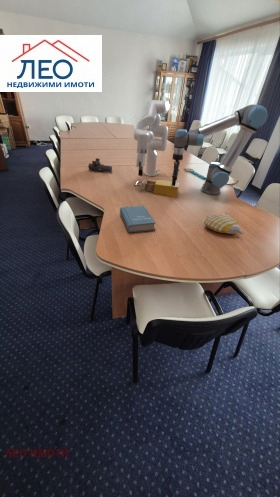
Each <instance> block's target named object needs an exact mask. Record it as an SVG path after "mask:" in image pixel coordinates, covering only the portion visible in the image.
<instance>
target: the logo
mask: <svg viewBox="0 0 280 497" xmlns="http://www.w3.org/2000/svg"><path fill="white" fill-rule="evenodd" d="M183 169H184V170H185V172H189V173H191V174H193V175H195V176H197V177H198V178H200V179H202V180H206V177H205V176H204V175H201V174H200V173H198V172H197V171H195V170H194V168H191V167H183Z"/></svg>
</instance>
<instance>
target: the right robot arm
mask: <svg viewBox="0 0 280 497" xmlns="http://www.w3.org/2000/svg"><path fill="white" fill-rule="evenodd" d="M268 114H269V113H268V110H267V108H266V107H265V106H263V105H260V104H255V103H254V104H253V103H252V104H248V105H246V106H244V107H242V108H240V109H238V110H235V111H234V113H232V114H229V115H227V116H225V117H222V118H220V119H217V120H215V121H212V122H210V123H208V124H205V125H203V126H200V127H198V128H196V129H190V130H189V131H188V130H187V129H183V128H179V129H176V130H175V135H174V141H173V142H174V143H173V148H172V150H173V152H172V160H174V161H173V171H172V175H171V182H172V186H175V183H176V182H177V180H178V176H179V172H180V170H179V169H180V168H179V167H180V164H181V162H180V161H183V160H184V155H185V154H184V153H185V146H191V147H192V146H193V147H201V146H203V144H204V139H205V138H206V137H209V136H212V135H214V134H217V133H220V132H222V131H225V130H228V129H230V128H232V127H235V126H237V127H238V126H239V127H240V128H239V130H238V132H237V134H236V135H235V137H234V139H233V141H232V142H231V144H230V146H229V148H228V149H227V151H226V153H225V154H224V156H223V158H222V159H221V162H210V163H209V164H208V165H209V166H208V168H207V173H206V177H205V178H206V179H205V181H204V183H203V184H202V186H201V189H200V190H201V192H203V193H204V194H207V195H218V194H220V192H221V188H222V187H225V186H233V185H234V186H235V185H237V184H238V183H239V180H237V181H236V182H235V183H229V181H230V175H231V174H232V172H233V167H234V165H235V163H236V161H237V160H238V158H239V157H240V155H241V153H242V152H243V150H244V148H245V146H246V145H247V143H248V141H249V140H250V138H251V137H252V135H254V134H256V133H257V131H258V130H259V128H261V127H262V126H263V125H265V123H266V122H267V120H268Z"/></svg>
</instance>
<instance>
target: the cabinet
mask: <svg viewBox="0 0 280 497" xmlns="http://www.w3.org/2000/svg"><path fill="white" fill-rule="evenodd" d="M155 182H156V183H155V186H154V191H153V194H154V195H159V196H166V197H172V198H173V197H174V198H178V194H179V188H180V182H178V181H176V183H175V186H172V180H164V179H156V181H155Z"/></svg>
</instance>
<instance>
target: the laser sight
mask: <svg viewBox="0 0 280 497" xmlns="http://www.w3.org/2000/svg"><path fill="white" fill-rule="evenodd" d="M88 170H89V171H93V172H101V173H104V172H107V173H112V172H113V166H112V165H105V164H102V163H101V162H100V158H95V160H91V163H88Z"/></svg>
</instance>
